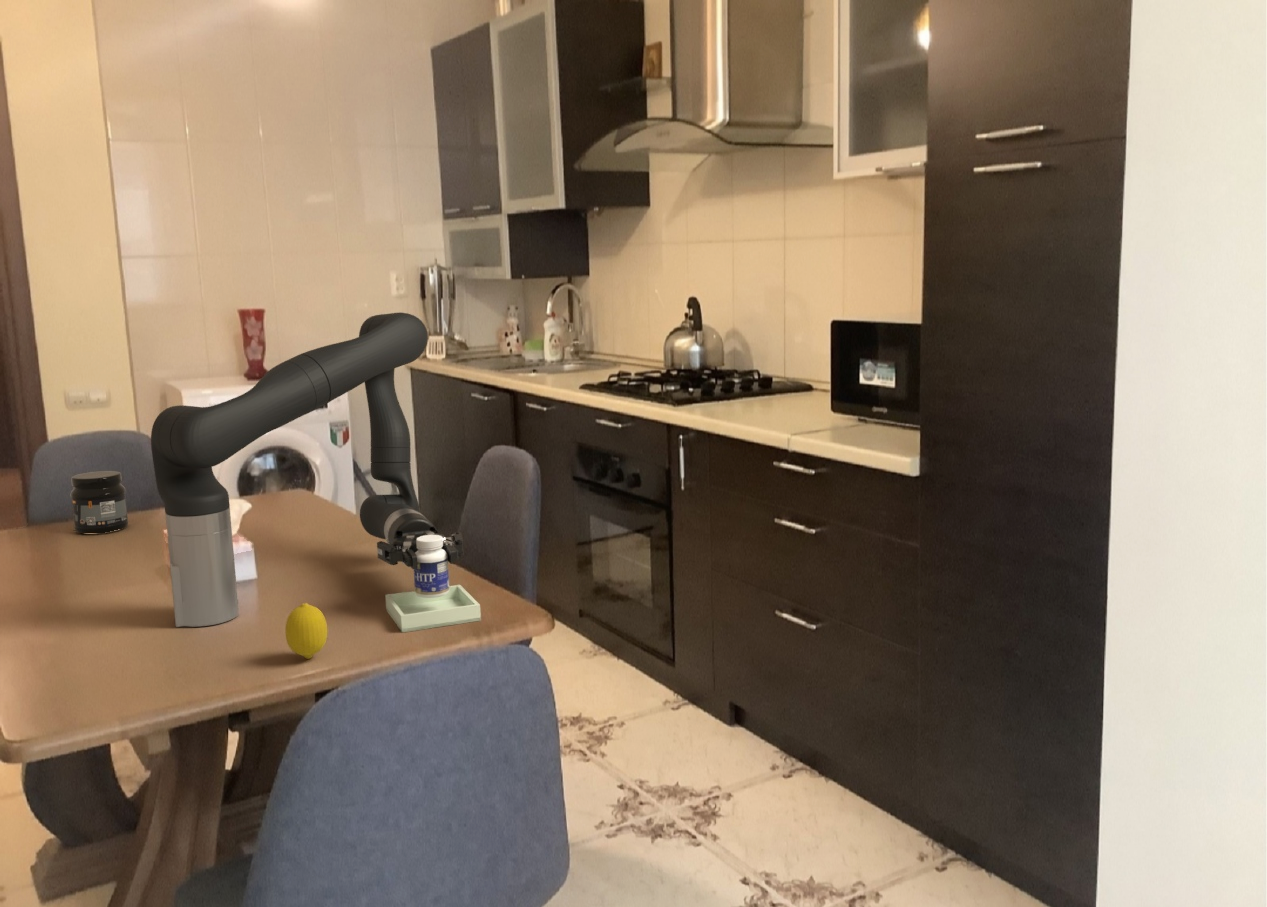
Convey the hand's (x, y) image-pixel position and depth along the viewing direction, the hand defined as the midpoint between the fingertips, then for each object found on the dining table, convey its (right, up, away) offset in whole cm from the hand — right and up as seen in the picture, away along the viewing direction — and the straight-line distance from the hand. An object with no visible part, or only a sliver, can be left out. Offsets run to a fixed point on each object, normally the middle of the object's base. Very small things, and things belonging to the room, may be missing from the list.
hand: (434, 559), depth 161 cm
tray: (-1, -9, +4) cm, 10 cm away
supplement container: (-84, 0, +66) cm, 106 cm away
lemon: (-15, -12, -14) cm, 24 cm away
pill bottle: (-1, -6, +4) cm, 7 cm away
